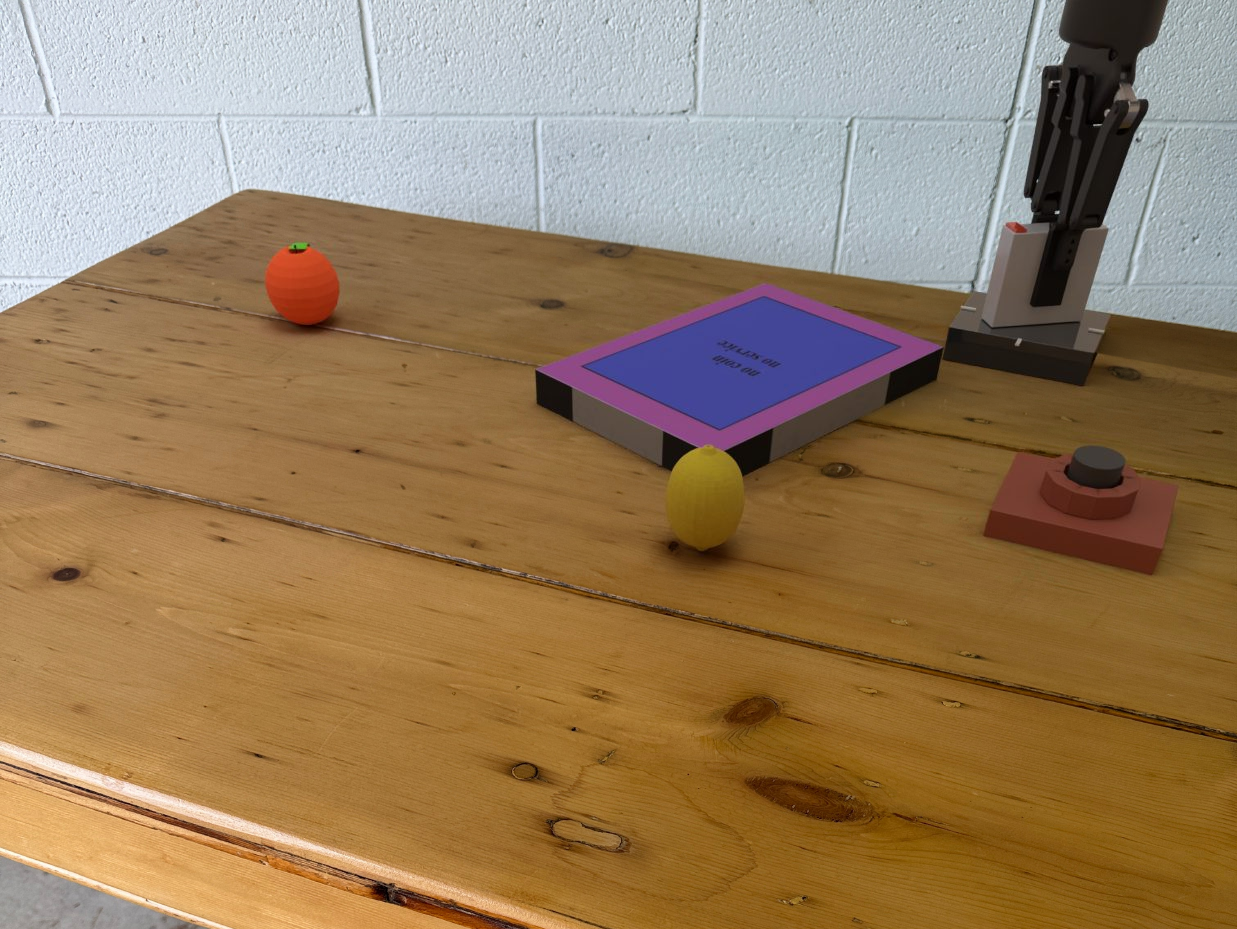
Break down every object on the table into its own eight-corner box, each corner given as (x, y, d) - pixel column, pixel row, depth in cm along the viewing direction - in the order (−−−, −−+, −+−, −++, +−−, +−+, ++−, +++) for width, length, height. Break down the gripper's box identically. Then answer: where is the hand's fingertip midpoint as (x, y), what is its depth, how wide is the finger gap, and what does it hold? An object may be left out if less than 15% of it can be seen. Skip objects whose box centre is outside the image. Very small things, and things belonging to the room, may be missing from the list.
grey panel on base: (1069, 311, 105) (1097, 216, 99) (1081, 321, 103) (1110, 225, 97) (980, 317, 104) (1003, 221, 98) (991, 328, 102) (1015, 230, 96)
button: (1121, 474, 81) (1129, 451, 80) (1113, 496, 79) (1122, 473, 78) (1071, 463, 83) (1078, 441, 81) (1062, 485, 80) (1069, 462, 79)
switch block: (1168, 511, 85) (1187, 462, 82) (1152, 575, 78) (1172, 525, 76) (1010, 477, 88) (1024, 429, 86) (982, 536, 82) (996, 486, 79)
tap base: (1104, 340, 108) (1115, 306, 105) (1082, 393, 99) (1093, 357, 97) (969, 316, 112) (976, 283, 109) (936, 365, 103) (944, 331, 101)
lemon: (746, 536, 82) (756, 433, 76) (731, 576, 78) (740, 470, 72) (673, 525, 83) (678, 422, 77) (655, 564, 79) (658, 459, 73)
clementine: (286, 304, 112) (271, 228, 107) (354, 305, 112) (342, 229, 107) (265, 335, 107) (248, 257, 102) (336, 337, 107) (323, 258, 102)
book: (943, 346, 99) (714, 455, 84) (936, 379, 101) (711, 491, 86) (766, 282, 110) (535, 369, 95) (763, 314, 112) (536, 403, 97)
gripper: (1030, -35, 90) (964, 271, 107) (1128, 0, 79) (1037, 334, 96) (1115, -37, 91) (1036, 266, 108) (1223, -3, 80) (1117, 328, 97)
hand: (1037, 297), depth 102 cm, fingers closed on grey panel on base, 2 cm apart
